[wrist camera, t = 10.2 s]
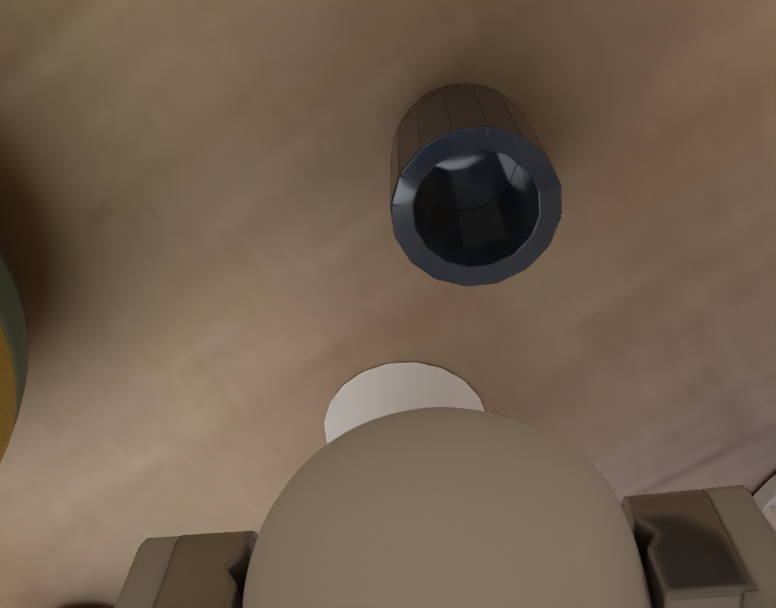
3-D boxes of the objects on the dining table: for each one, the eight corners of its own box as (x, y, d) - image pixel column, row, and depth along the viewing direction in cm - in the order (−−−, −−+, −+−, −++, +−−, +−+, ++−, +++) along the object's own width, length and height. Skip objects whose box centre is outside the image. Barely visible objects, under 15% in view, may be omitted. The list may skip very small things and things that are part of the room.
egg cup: (530, 74, 29) (560, 116, 24) (535, 211, 32) (563, 276, 26) (382, 93, 29) (380, 139, 24) (400, 227, 32) (402, 294, 27)
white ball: (411, 612, 13) (415, 975, 9) (208, 450, 11) (87, 803, 7) (657, 477, 11) (815, 839, 7) (465, 262, 10) (517, 568, 5)
